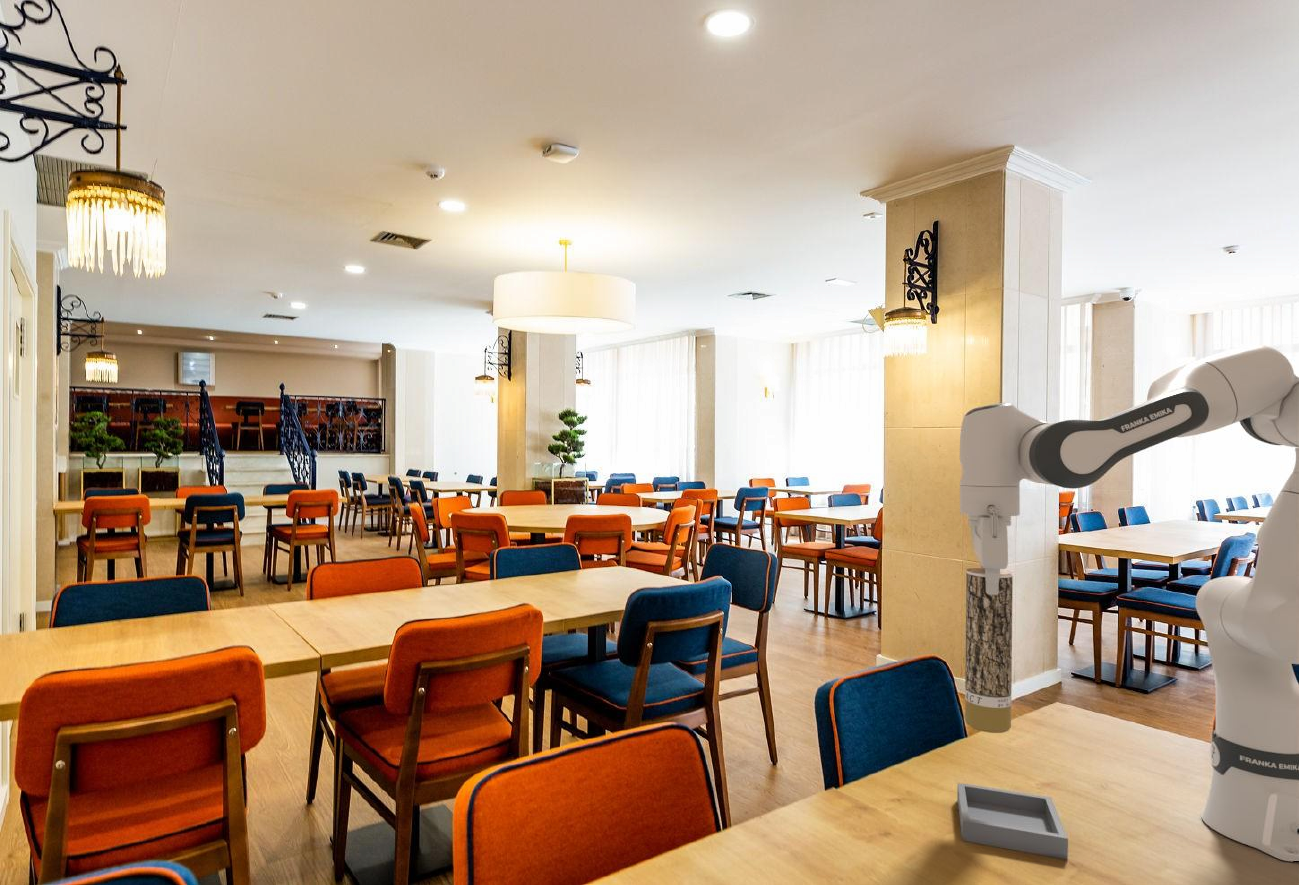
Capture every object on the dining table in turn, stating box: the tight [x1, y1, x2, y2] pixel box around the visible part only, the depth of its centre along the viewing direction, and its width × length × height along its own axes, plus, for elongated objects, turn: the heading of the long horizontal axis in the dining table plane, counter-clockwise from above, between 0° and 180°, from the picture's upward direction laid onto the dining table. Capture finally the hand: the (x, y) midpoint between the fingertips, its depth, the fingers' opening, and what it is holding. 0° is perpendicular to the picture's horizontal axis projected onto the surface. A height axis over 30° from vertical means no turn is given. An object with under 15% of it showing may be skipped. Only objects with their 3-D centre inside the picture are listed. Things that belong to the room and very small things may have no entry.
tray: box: [956, 782, 1069, 861], centre depth 117 cm, size 14×14×3 cm
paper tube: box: [964, 567, 1014, 734], centre depth 121 cm, size 7×7×25 cm
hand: (989, 589), depth 121 cm, fingers closed on paper tube, 7 cm apart
